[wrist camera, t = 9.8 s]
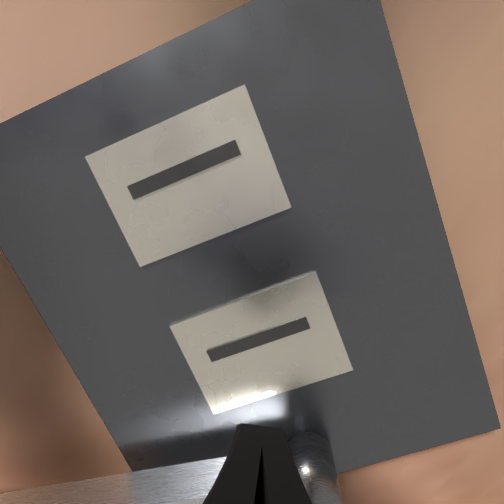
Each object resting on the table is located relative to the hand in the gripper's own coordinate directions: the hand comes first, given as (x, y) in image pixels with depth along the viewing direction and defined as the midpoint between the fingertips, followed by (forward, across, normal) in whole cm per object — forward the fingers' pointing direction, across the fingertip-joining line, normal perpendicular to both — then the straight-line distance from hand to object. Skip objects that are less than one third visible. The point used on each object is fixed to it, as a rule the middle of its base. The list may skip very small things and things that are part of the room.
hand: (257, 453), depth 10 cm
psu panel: (+7, +1, -2) cm, 8 cm away
